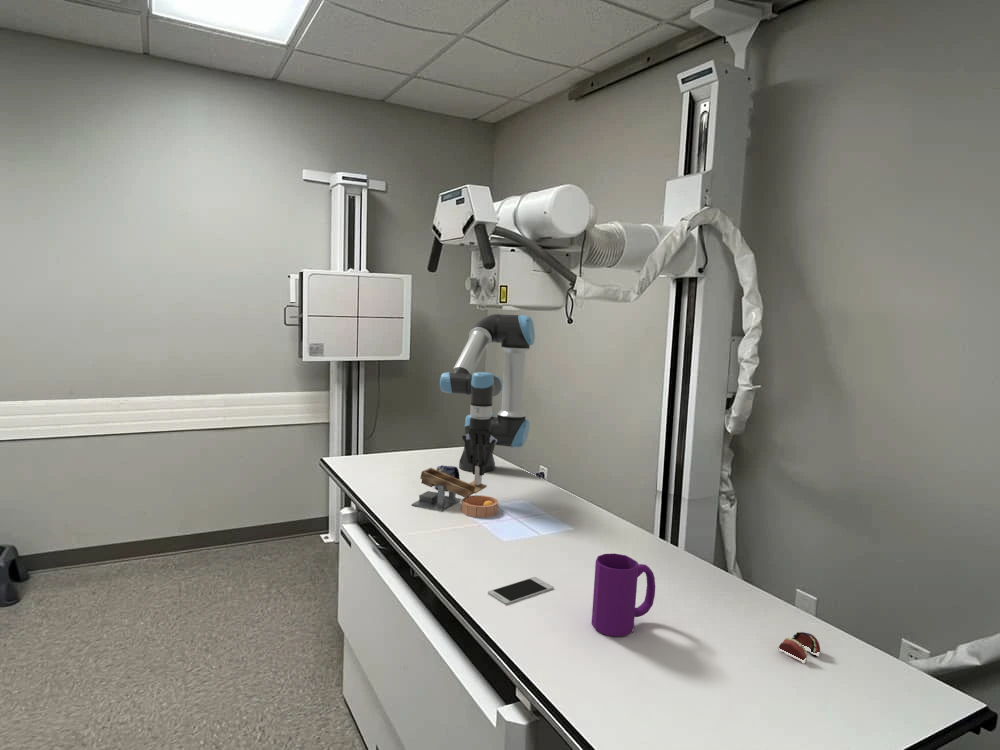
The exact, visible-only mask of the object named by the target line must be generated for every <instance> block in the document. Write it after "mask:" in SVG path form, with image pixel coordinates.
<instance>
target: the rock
mask: <svg viewBox="0 0 1000 750" xmlns="http://www.w3.org/2000/svg"><path fill="white" fill-rule="evenodd" d="M436 470H437V471H440V472H442V473H445V474H447V475H450V476H452V477H454V478H457V479H459V480H461V479H460V471H459V467H457V466H452V465H443V464H442V465H438V466H437V467H436ZM434 487H435V488H437V489H438V486H437V485H435V486H433V488H434ZM445 491H447V490H446V489H445Z"/></svg>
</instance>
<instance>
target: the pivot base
mask: <svg viewBox="0 0 1000 750" xmlns="http://www.w3.org/2000/svg"><path fill="white" fill-rule="evenodd" d="M456 495H457V494H455V493H453V492H451V491H448V495H446V490H445V485H438V488H437V492H435V491H431V490H428V491H425V492H424V493H421V494H419V495H418V498H419V499H418V500H417V501H415V502H413V503H411V506H412V507H416V508H422V509H427V510H432V511H437V512H443V511H445V510H447V509H448V508H450V507H452V506H454V505H456V504H458V503H459V502H462V498H459V497H456Z"/></svg>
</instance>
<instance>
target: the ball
mask: <svg viewBox="0 0 1000 750" xmlns="http://www.w3.org/2000/svg"><path fill="white" fill-rule="evenodd" d="M492 504H493V502H492V501H486V502H484V504H483V506H487V505H492Z"/></svg>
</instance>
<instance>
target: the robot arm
mask: <svg viewBox="0 0 1000 750" xmlns="http://www.w3.org/2000/svg"><path fill="white" fill-rule="evenodd" d="M535 336H536V334H535V325H534V322H533V319H532V318H531V316H528V315H521V314H503V313H502V314H501V313H500V314H499V313H494V314H489V315H487V316H485V317H483V318H481V319H480V320H478V321H477V322H476V323H475V324H474V325H473V326H472V328H471V329H470V330H469V334H468V340H467V342H466V344H465V346H464V347H463V350H462V351H461V354H460V355H459V357H458V359H457V361H456V363H455V365H454V367H453V368H452V370H451V371H448V372H443V373H442V374H441V375H440V379H439V388H440V392H443V393H445V394H446V393H447V394H451V395H465V396H470V411H469V412H470V414H467V415H466V416H465V422H464V425H463V427H464V435H462V437H461V438H462V440H463V450H462V453H461V456H460V458H459V462H458V469H460V470H463V471H465V472H470V473H471V472H472V474H473V475H474V480H473V481H474V485H479V484H481V483H482V480H483V478H482V477H483V476H484V475H485V473H486V472H491V471H494V470H495V468H496V462H495V458H494V455H493V454H494V450H495V447H496V446H499V447H508V448H509V447H510V448H523V447H524V445H525V444H526V442H527V439H528V435H529V431H530V420H529V419H526V418H527V416H526V413H524V411H523V405H524V402H523V401H524V387H525V386H524V385H525V371H526V367H525V366H526V354H527V352H528V351H529V350H530V346H533V345H534V344H535ZM492 343H497V344H501V347H500V348H501V349H502V351H503V352H504V359H503V373H502V374H503V375H502V376H503V377H502V379H501V378H500V377H499V376H498V375H496V374H493V373H491V372H483V371H479V372H475V370H476V368H477V367H478V365H479V362H480V361H481V358H482V356H483V355H484V353H485V350H486V349H487V347H489V346H490V345H491V344H492ZM500 393H501V394H502V395H501V408H500V410H499V411H498V413H497V416H494V413H493V397H496V396H498V395H499V394H500ZM482 484H483V483H482Z"/></svg>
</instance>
